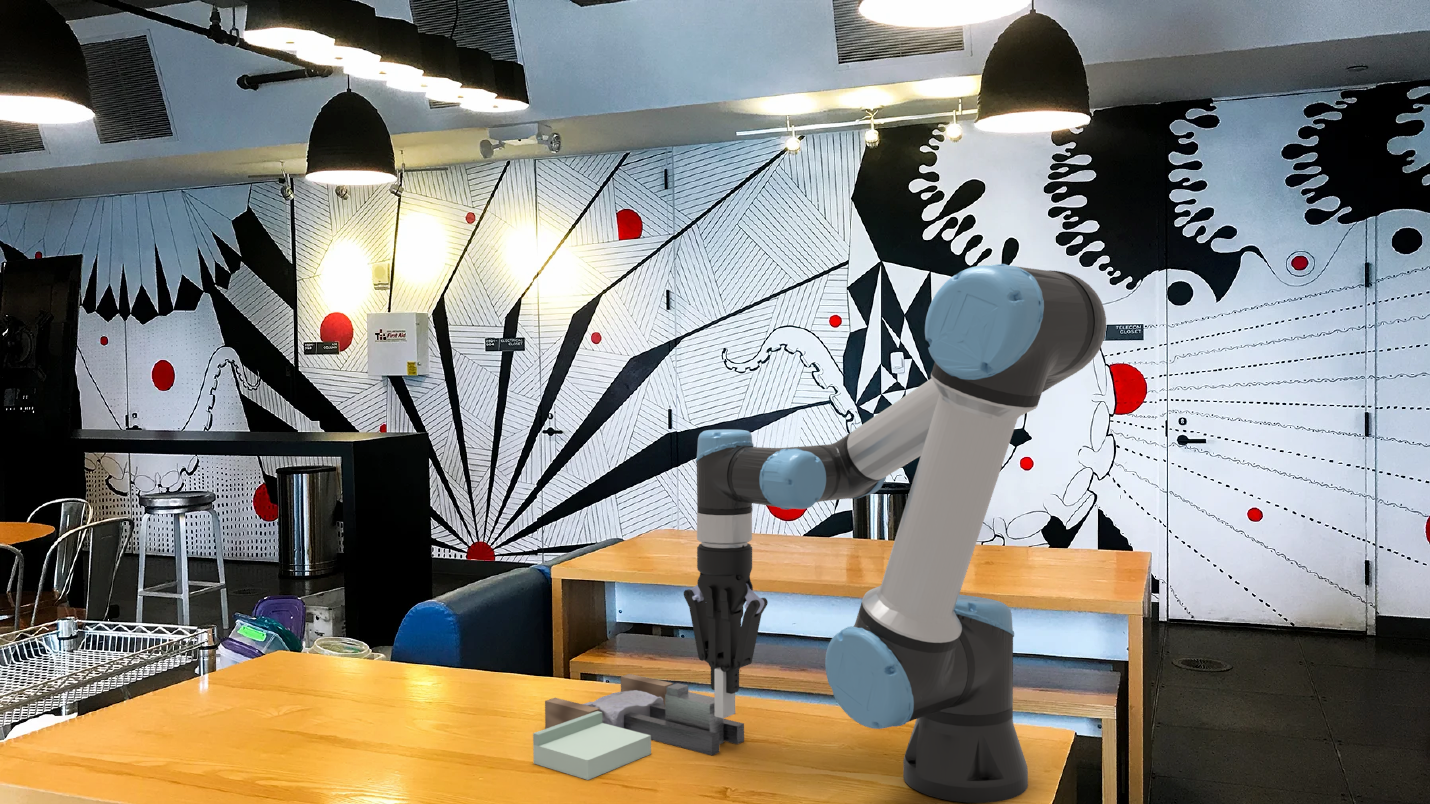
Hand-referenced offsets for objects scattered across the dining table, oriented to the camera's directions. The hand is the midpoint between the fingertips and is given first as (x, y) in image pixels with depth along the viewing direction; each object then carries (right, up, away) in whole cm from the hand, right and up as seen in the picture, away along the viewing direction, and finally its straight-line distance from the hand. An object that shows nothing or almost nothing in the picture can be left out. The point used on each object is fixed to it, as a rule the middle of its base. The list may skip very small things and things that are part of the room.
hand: (724, 714), depth 150 cm
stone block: (-16, -5, +13) cm, 21 cm away
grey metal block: (-4, -4, +3) cm, 7 cm away
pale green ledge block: (-18, -5, -4) cm, 19 cm away
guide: (-6, -4, +5) cm, 9 cm away
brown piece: (-17, -4, +13) cm, 22 cm away
